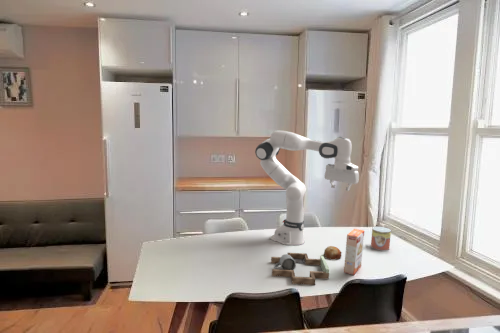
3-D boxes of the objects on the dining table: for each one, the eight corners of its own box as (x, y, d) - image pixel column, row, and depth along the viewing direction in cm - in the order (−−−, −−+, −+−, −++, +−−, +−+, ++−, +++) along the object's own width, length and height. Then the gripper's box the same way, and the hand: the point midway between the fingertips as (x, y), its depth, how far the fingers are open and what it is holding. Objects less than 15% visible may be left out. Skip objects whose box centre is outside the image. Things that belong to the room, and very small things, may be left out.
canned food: (370, 248, 224) (371, 230, 222) (371, 243, 234) (372, 225, 233) (389, 251, 220) (391, 233, 218) (389, 246, 230) (391, 228, 229)
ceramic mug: (291, 265, 193) (292, 252, 192) (295, 272, 185) (296, 258, 184) (272, 266, 191) (273, 252, 190) (275, 273, 183) (276, 258, 182)
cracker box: (354, 275, 183) (357, 236, 180) (343, 272, 186) (346, 234, 184) (361, 266, 195) (365, 230, 192) (351, 264, 198) (353, 227, 195)
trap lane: (272, 282, 172) (272, 276, 171) (270, 256, 204) (271, 251, 204) (331, 285, 171) (332, 279, 170) (320, 259, 204) (320, 254, 203)
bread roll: (324, 259, 214) (319, 247, 213) (339, 252, 214) (334, 240, 213) (329, 265, 204) (324, 253, 203) (345, 258, 204) (340, 246, 203)
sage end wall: (325, 278, 178) (326, 269, 178) (319, 264, 196) (320, 255, 196) (328, 278, 178) (329, 269, 178) (322, 264, 196) (323, 255, 195)
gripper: (323, 163, 208) (321, 186, 210) (356, 168, 194) (353, 192, 196) (328, 163, 213) (327, 185, 214) (361, 167, 199) (359, 191, 201)
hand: (340, 189), depth 205 cm, fingers open, 8 cm apart
